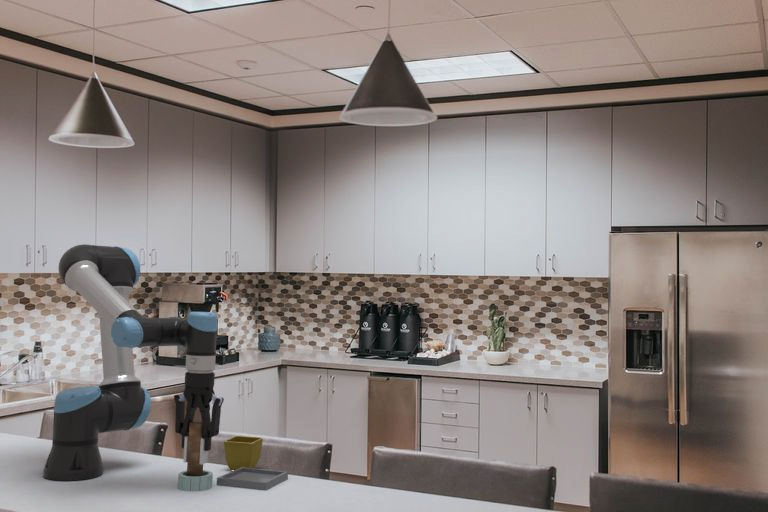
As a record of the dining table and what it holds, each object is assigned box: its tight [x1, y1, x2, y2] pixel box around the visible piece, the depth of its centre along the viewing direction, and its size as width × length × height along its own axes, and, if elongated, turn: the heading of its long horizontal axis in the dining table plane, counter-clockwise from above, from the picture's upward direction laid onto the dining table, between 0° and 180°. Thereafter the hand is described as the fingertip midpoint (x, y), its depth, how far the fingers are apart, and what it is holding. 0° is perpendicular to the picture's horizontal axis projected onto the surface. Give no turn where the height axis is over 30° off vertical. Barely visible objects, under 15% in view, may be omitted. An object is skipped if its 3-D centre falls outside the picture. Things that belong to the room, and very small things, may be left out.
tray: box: [216, 467, 289, 491], centre depth 206 cm, size 14×14×2 cm
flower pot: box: [223, 435, 264, 471], centre depth 222 cm, size 9×9×9 cm
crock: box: [177, 469, 214, 492], centre depth 199 cm, size 8×8×4 cm
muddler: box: [186, 420, 204, 477], centre depth 199 cm, size 4×4×15 cm
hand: (195, 462), depth 199 cm, fingers closed on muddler, 4 cm apart
